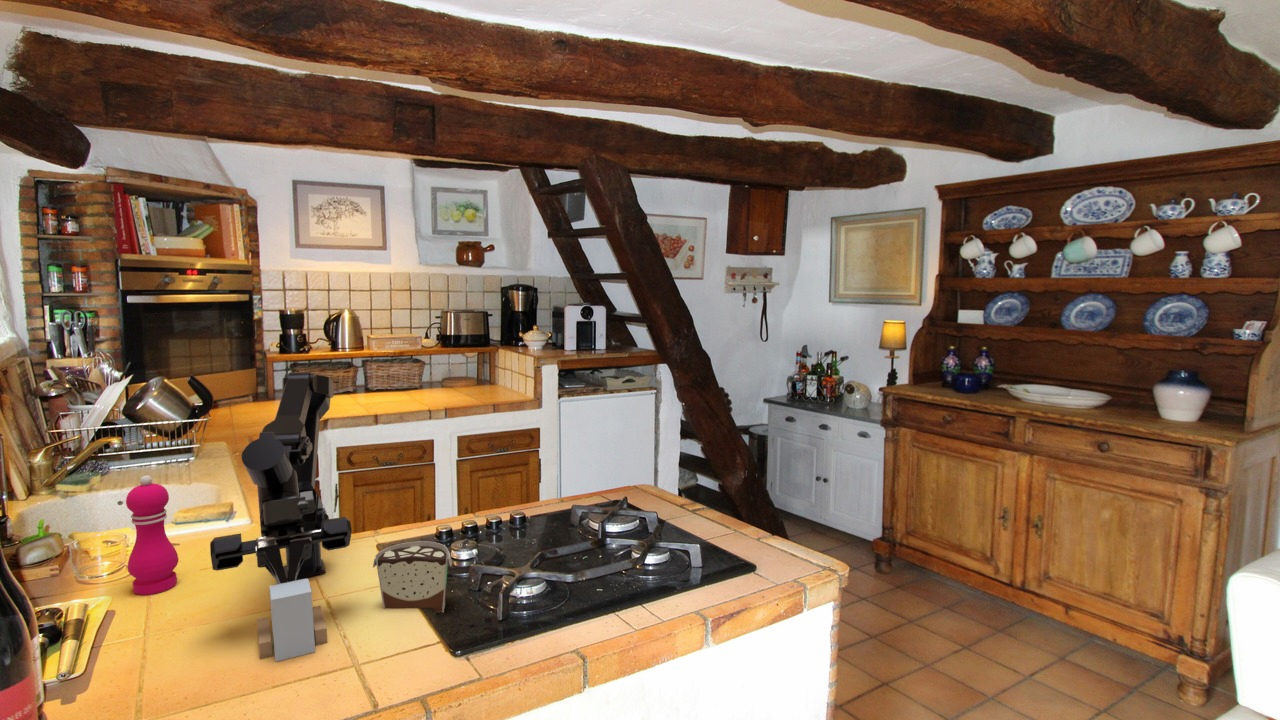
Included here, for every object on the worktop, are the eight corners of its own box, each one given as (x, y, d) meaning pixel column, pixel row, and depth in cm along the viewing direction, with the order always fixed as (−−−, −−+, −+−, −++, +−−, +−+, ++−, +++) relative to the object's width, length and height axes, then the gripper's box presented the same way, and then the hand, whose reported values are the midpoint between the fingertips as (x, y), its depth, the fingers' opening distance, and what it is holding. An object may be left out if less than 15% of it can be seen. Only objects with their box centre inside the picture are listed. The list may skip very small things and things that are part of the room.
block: (273, 645, 101) (269, 585, 100) (311, 636, 103) (307, 578, 102) (275, 661, 97) (271, 600, 96) (315, 652, 99) (311, 591, 98)
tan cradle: (258, 639, 104) (256, 619, 104) (321, 625, 109) (320, 605, 108) (262, 691, 92) (261, 668, 91) (334, 672, 96) (332, 650, 95)
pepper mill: (125, 587, 122) (114, 475, 119) (173, 574, 127) (164, 467, 124) (135, 600, 117) (124, 484, 114) (185, 586, 122) (176, 475, 119)
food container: (461, 596, 118) (459, 539, 117) (452, 613, 112) (450, 554, 111) (387, 597, 118) (384, 540, 117) (375, 615, 112) (372, 555, 111)
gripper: (205, 484, 99) (209, 588, 91) (346, 466, 109) (361, 559, 101) (211, 521, 107) (215, 619, 99) (342, 501, 116) (355, 590, 108)
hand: (288, 596), depth 101 cm, fingers closed, pressing on block
